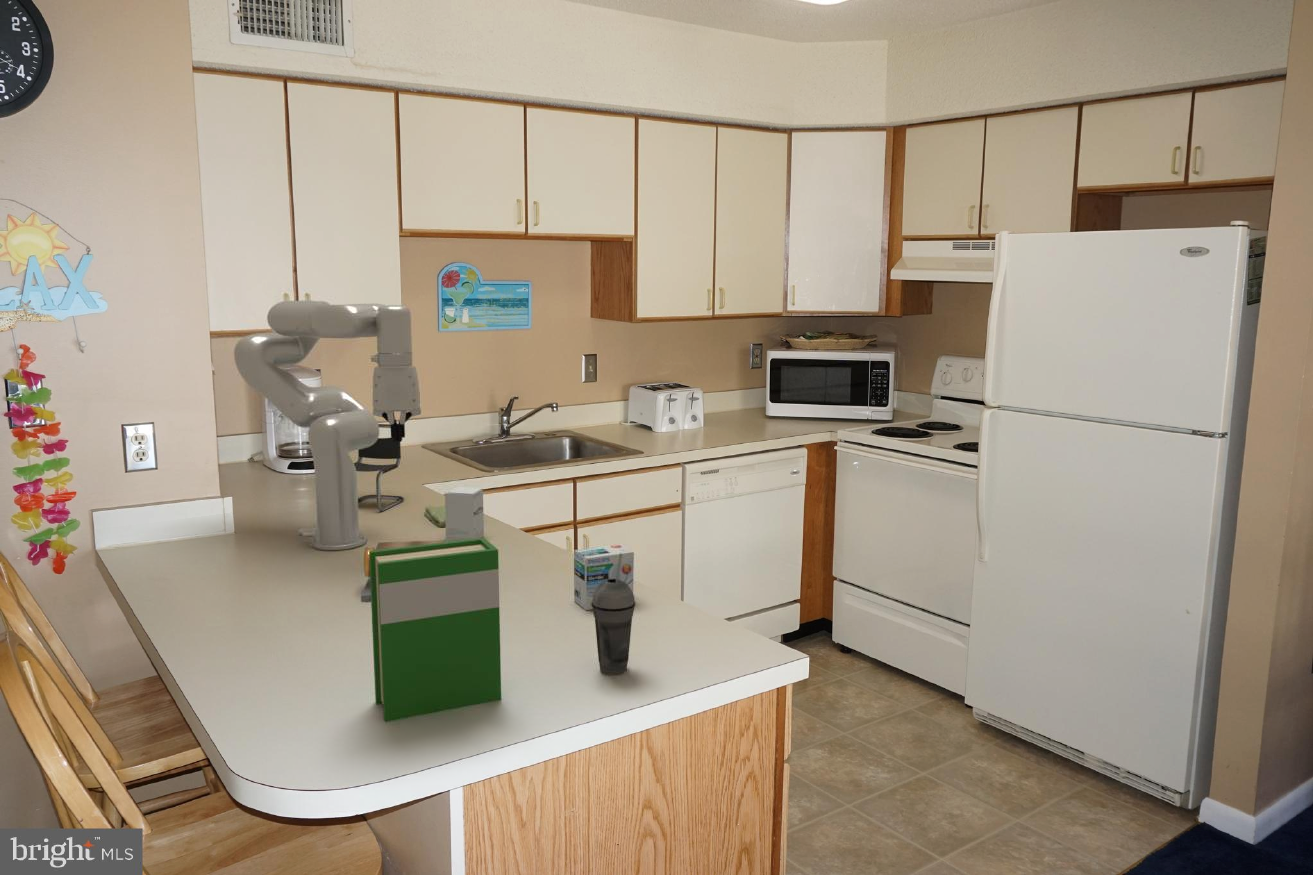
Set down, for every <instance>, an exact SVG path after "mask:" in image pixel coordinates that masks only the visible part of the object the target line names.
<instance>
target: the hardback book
mask: <svg viewBox="0 0 1313 875" xmlns="http://www.w3.org/2000/svg"><path fill="white" fill-rule="evenodd" d="M369 563H370V586H371V601H370V604H371V606H370V607H371V628H372V629H371V630H372V649H373V650H372V652H373V653H372V654H373V672H374V674H373V675H374V695H375V696H374V697H375V698H374V699H375V704H376V705H381V704H382V710H383V721H384V723H388V722H393V721H399V720H403V719H408V718H413V717H419V716H425V715H429V714H434V713H440V712H446V711H449V710H457V709H459V708H460V709H461V708H467V707H473V706H477V705H481V704H486V703H491V702H497V701H501V700H502V673H501V672H502V669H501V668H502V666H501V663H502V662H501V626H500V625H501V624H500V622H501V620H500V615H501V614H500V575H499V574H500V573H499V549H498V547H496V546H495V545H494V544H492V543H491V542H490V541H488V540H487V538H485V537H482V538H478V539H469V540H461V541H452V542H443V543H434V544H426V545H417V546H408V547H400V548H391V549H382V550H374V551H369Z"/></svg>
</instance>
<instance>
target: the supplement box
mask: <svg viewBox="0 0 1313 875" xmlns="http://www.w3.org/2000/svg"><path fill="white" fill-rule="evenodd" d="M444 505H445V518H446V527H445V540H446V542H452V541H461V540H469V539H478V538H484V536H485V535H484V534H485V531H484V529H485V527H484V526H485V524H484V488H483V487H475V486H474V487H473V486H472V487H471V486H455V487H454V488H451V489H450V490H448V491H446V492H445V493H444Z"/></svg>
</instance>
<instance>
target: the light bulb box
mask: <svg viewBox="0 0 1313 875" xmlns="http://www.w3.org/2000/svg"><path fill="white" fill-rule="evenodd" d="M573 552H574V553H573V578H574V579H573V593H574V594H573V600H574V602H575V603H577V604H578V605H579V606H580V607H582V609H584V610H585V611H593V608H592V605H591V604H592V599H593V595H594V592H595V590H596V588H597V587H598V586H599V585H600V584H601V583H602V582H604V581H605V580H608V579H616V576H617V568H618V560H619V554H620V553H621V554H622V561H621V569H620V577H619V580H622V581H623V582H625V583H626V584H628V586H629V587H630V588H631V590H632V592H633V593H634V569H635V568H634V566H635V564H634V563H635V562H634V561H635V559H634V558H635V556H634V555H635V553H634V551H632V550H630V549H629V548H627V547H626V546H624V545H622V544H620V543H618V544H612V545H604V546H596V547H590V548H589V547H588V548H581V549H574V550H573Z"/></svg>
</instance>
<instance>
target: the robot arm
mask: <svg viewBox="0 0 1313 875" xmlns="http://www.w3.org/2000/svg"><path fill="white" fill-rule="evenodd" d="M266 320H267V324H268V326H269V328H271V330H272V332H257V333H253V334H249V335H246V336H244V337H242V338H240V339H239V340H238V341H237V343H236V344H235V346H234V351H233V354H234V355H233V357H234V363H235V366H236V368H237V371H238V373H239V375H240V377H241V378H242V379H243V380H244V382H246V384H247V385H248V386H250V388H252V389H253V390H254V391H256V392H257V393H258V394H260V395H261V396H262V397H264V399H266V400H267V401H269V403H271V404H272V405H273V406H274V407H275V408H276V409H277V410H278V411H279V412H280V413H282V414H283V415H284V416H285V417H286V418H288V420H290V421H291V422H292V423H293V424H295V425H296V426H297V427H299V428H303V429H304V428H309V429H308V430H307V432H308V433H307V437H308V443H309V447H310V451H311V455H312V459H313V460H312V461H313V466H314V468H313V469H314V482H315V485H314V486H315V502H316V503H315V504H316V519H317V521H316V522H317V525H315V526H313V527H312V528H311V527H310V528H308V527H307V528H306V527H301V528H299V530H298V535H299V537H302V538H305V539H306V538H312V540H311V546H312V547H313V548H314V549H318V550H321V551H322V550H323V551H343V550H350V549H354V548H358V547H361V546H363V545H365V544H366V543H367V536H365V534H362V533H360V521H359V517H360V516H359V502H358V498H359V497H358V496H359V495H358V493H359V492H358V478H357V477H358V476H357V473H358V472H357V471H356V468H355V465H354V463H355V462H354V461H353V460H352V458H351V457H350V454H349V453H350V452H355V451H358V450H360V449H364V448H367V447H370V446H372V445H373V444H374V443H375V442H376V441H377V439H378V438H380V428H379V426H378V424H379V423H378V421H377V419H376V418H375V417H380V418H383V419H384V420H386V422H387V423H388V424H390V426H391V428H390V438H394V442H397V441H399V442H400V443H401V442H402V441H403V438H406V430H405V428H406V427H405V426H406V425H405V423H406V422H408V420H409V419H411V418H412V417H415V416H416V417H417V416H419V415H421V414H422V410H421V405H420V404H421V397H420V395H421V394H420V393H421V392H420V386H419V384H420V383H419V377H418V372H417V368H416V366H415V365H414V364H413V344H412V343H413V340H412V339H413V338H412V314H411V310H410V308H409V307H408V306H406V305H397V304H395V305H393V304H392V305H390V304H389V305H386V304H382V303H352V304H351V303H350V304H349V303H348V304H347V303H346V304H331V303H328V301H323V300H285V301H280V302H278V303H275V304H273V306H271V308H270V309H269V310H268V312H267V316H266ZM374 337H375V338H376V347H377V353H376V354H374V355H371V356H370V360H371V362H375V363H376V364H377V366H375V367H374V368H373V375H372V407H373V409H372V412H370V411H369V410H368V409H367V408H366V407H365V406H363V404H361V403H360V402H359V401H357V400H356V399H355V398H354V397H353V396H352V395H351V394H350V393H349V392H347V391H346V390H345V389H343V388H340V387H338V386H335V385H324V386H323V385H322V386H308V385H306V384H304V383H303V382H302V381H301V380H299V378H298V377H296V375H294V374H293V373H292V372H289V371H287V370H286V369H282V368H281V367H284V366H285V367H286V366H294V365H297V364H299V363H301V362H302V361H304V360H305V359H306V358H307V356H308V355H309V354H310V353H311V351H312V350H313V349H314V347H315V346H316V345H317V343H318V341H319V340H320V339H357V338H374ZM395 412H400V415H399V421H398V422H397V420H396V416H395Z"/></svg>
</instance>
